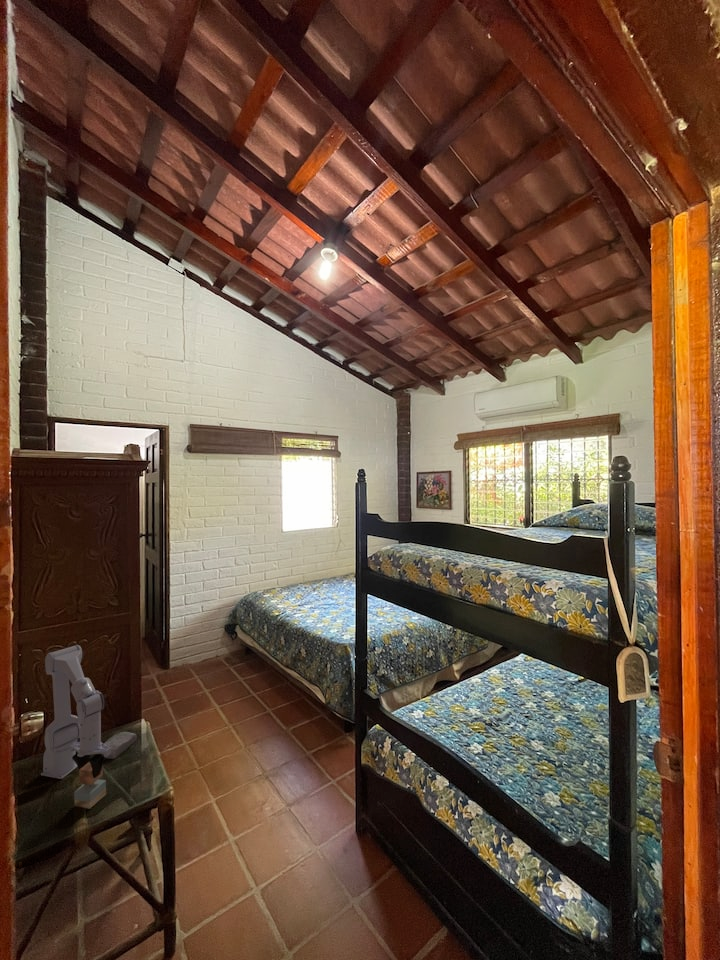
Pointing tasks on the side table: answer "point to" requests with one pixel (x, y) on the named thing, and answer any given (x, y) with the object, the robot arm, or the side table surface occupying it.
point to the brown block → (93, 802)
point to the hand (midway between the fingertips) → (90, 774)
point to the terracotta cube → (88, 775)
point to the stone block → (120, 743)
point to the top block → (89, 791)
